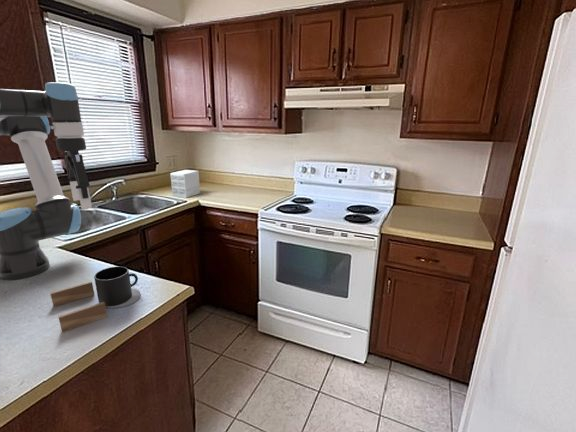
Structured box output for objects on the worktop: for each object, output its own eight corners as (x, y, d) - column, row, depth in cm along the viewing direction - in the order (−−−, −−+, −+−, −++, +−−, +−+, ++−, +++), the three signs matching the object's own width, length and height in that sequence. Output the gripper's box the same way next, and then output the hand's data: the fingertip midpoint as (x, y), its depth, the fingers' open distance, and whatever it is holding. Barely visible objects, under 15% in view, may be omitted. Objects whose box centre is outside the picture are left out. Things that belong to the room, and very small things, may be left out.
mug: (144, 296, 102) (141, 270, 99) (103, 310, 94) (98, 283, 91) (134, 285, 108) (131, 261, 106) (95, 298, 100) (90, 272, 98)
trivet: (98, 297, 102) (98, 296, 102) (134, 286, 109) (134, 284, 109) (107, 312, 94) (107, 310, 94) (145, 299, 101) (145, 297, 101)
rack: (53, 305, 97) (50, 292, 96) (93, 293, 104) (91, 281, 103) (62, 332, 85) (58, 318, 84) (107, 316, 92) (104, 302, 91)
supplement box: (186, 192, 252) (185, 169, 247) (200, 193, 247) (199, 170, 242) (171, 196, 236) (169, 172, 231) (186, 198, 232) (184, 173, 226)
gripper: (49, 135, 103) (62, 198, 109) (61, 139, 85) (76, 214, 92) (76, 135, 108) (87, 195, 114) (93, 138, 90) (104, 209, 96)
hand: (82, 204), depth 103 cm, fingers open, 13 cm apart
